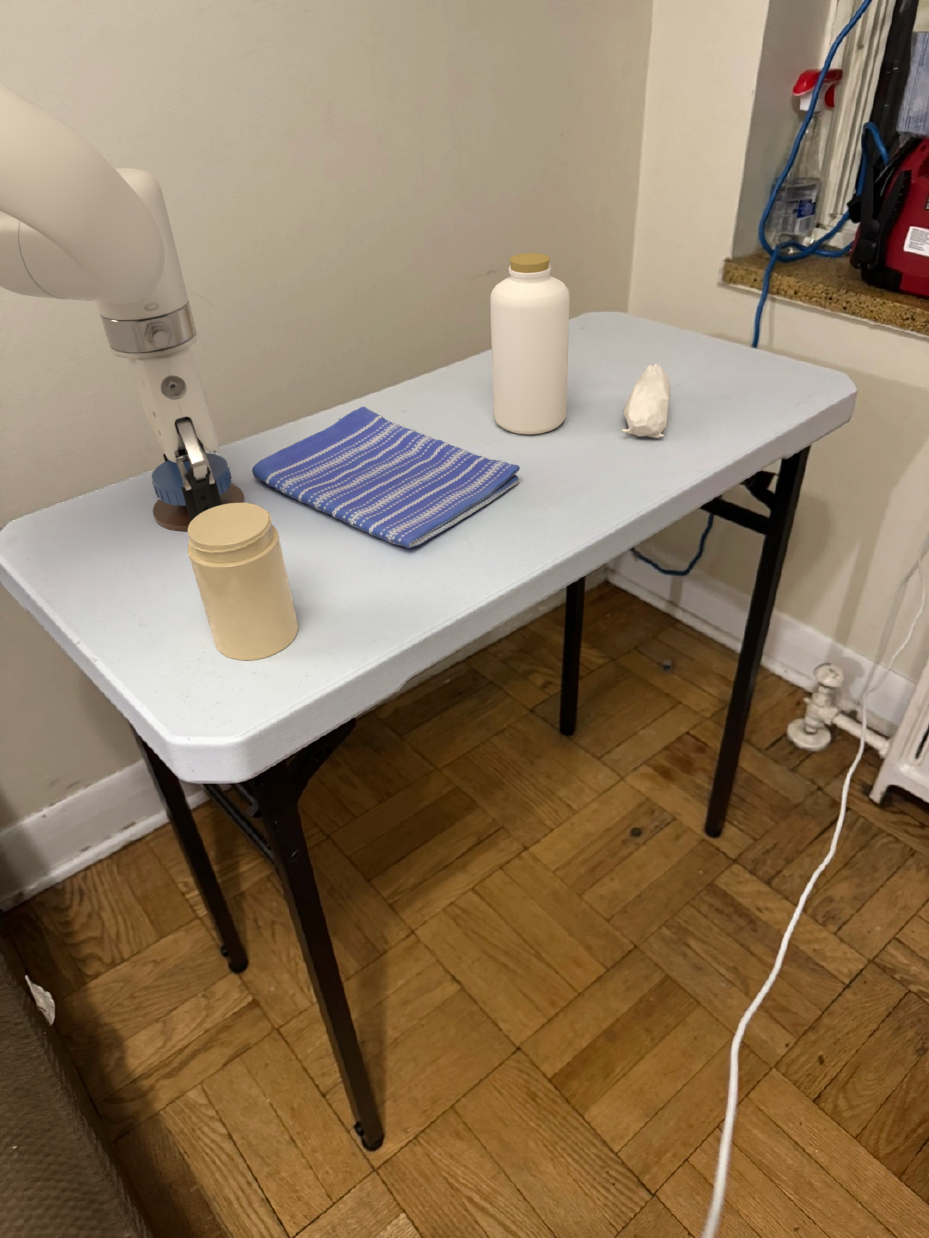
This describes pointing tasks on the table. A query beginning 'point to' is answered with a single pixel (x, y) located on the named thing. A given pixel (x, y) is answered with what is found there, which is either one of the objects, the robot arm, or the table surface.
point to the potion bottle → (530, 346)
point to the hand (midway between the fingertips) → (197, 501)
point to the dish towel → (386, 478)
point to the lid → (170, 482)
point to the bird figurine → (648, 404)
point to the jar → (242, 580)
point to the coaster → (178, 515)
